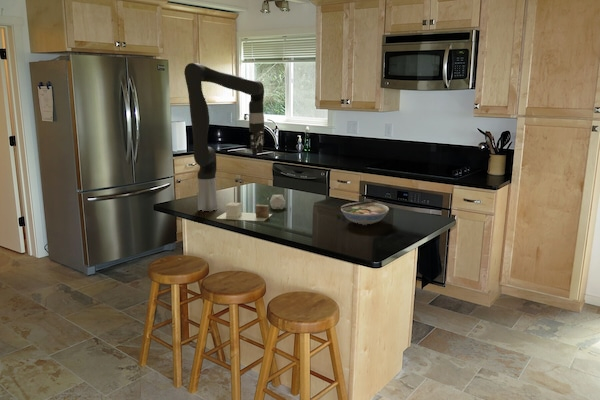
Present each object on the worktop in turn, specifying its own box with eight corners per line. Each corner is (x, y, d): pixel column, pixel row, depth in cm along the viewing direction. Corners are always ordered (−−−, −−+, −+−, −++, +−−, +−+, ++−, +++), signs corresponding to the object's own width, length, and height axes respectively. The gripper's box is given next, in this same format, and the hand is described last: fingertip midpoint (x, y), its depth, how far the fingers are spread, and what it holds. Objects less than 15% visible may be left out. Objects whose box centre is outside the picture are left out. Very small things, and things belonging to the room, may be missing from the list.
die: (279, 213, 268) (289, 197, 269) (265, 205, 268) (275, 189, 269) (280, 215, 276) (289, 199, 277) (266, 206, 276) (275, 191, 277)
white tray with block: (215, 219, 255) (215, 206, 254) (226, 212, 268) (225, 200, 266) (264, 222, 249) (263, 209, 248) (272, 215, 261) (272, 202, 260)
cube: (226, 216, 258) (225, 205, 256) (230, 213, 263) (230, 202, 262) (237, 217, 256) (236, 205, 255) (241, 214, 262) (241, 202, 260)
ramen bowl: (358, 233, 230) (358, 215, 228) (328, 221, 249) (328, 205, 247) (400, 224, 243) (401, 207, 241) (369, 213, 262) (369, 198, 260)
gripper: (254, 120, 266) (255, 151, 270) (244, 123, 253) (245, 156, 257) (268, 120, 264) (269, 152, 268) (258, 123, 251) (260, 156, 255)
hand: (257, 154), depth 262 cm, fingers open, 8 cm apart
